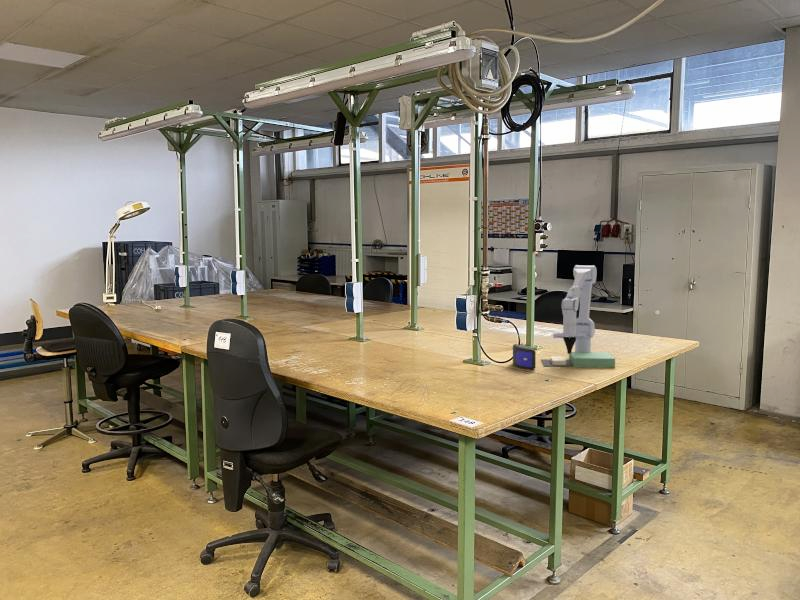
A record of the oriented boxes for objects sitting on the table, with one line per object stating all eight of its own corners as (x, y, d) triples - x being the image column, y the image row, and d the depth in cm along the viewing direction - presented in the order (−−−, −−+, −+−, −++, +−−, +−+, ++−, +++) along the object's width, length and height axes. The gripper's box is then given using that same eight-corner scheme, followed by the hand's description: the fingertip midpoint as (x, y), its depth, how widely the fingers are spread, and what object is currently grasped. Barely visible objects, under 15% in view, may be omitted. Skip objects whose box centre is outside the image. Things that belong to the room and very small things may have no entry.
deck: (569, 360, 289) (569, 351, 289) (608, 360, 287) (608, 352, 286) (573, 366, 276) (573, 358, 275) (614, 367, 273) (615, 358, 273)
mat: (541, 359, 291) (541, 359, 291) (569, 360, 289) (569, 359, 289) (543, 366, 277) (543, 365, 277) (573, 366, 276) (573, 366, 276)
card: (563, 356, 287) (563, 360, 287) (550, 356, 288) (550, 360, 288) (566, 360, 278) (566, 365, 278) (552, 360, 279) (552, 364, 279)
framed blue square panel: (507, 364, 284) (507, 344, 283) (515, 363, 286) (515, 343, 285) (527, 371, 269) (527, 350, 268) (536, 370, 271) (536, 349, 270)
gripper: (554, 325, 277) (554, 355, 279) (587, 325, 276) (586, 355, 277) (552, 323, 284) (552, 351, 286) (584, 323, 282) (584, 352, 284)
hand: (569, 353), depth 282 cm, fingers closed
